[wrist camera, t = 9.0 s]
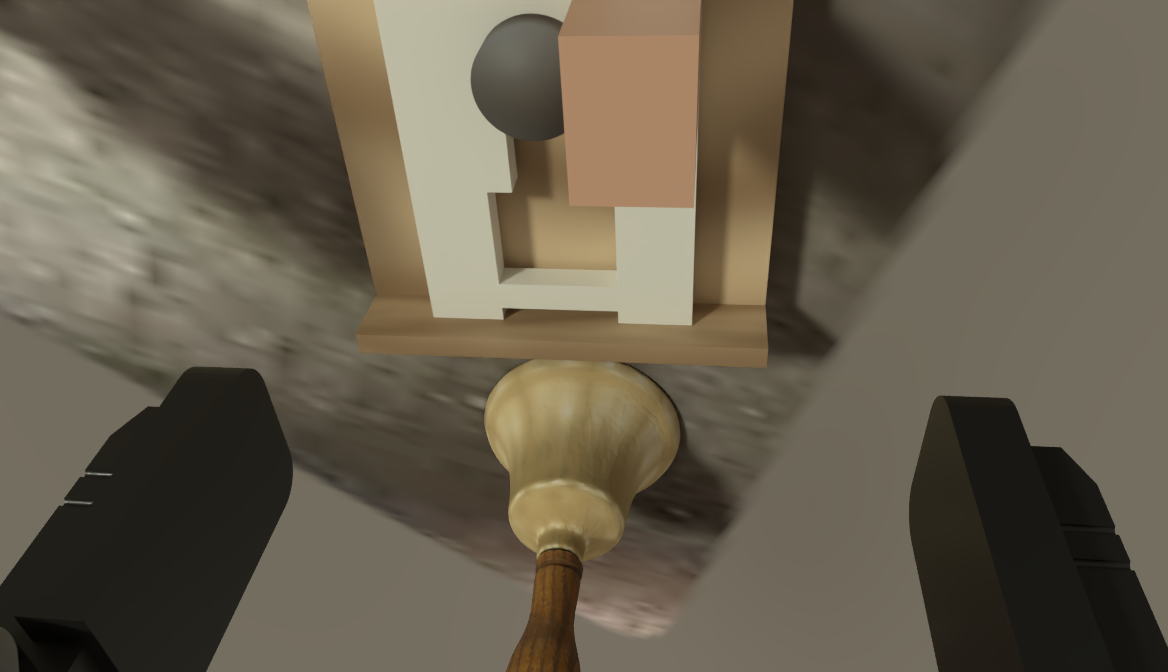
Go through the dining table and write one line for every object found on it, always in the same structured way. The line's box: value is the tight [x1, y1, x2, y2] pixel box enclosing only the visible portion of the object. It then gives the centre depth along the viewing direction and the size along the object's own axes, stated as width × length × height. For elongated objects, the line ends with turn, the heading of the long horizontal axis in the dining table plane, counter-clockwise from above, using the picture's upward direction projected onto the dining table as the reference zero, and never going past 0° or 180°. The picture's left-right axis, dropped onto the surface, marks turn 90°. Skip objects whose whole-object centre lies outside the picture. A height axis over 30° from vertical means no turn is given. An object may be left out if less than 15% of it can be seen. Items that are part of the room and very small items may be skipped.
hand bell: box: [484, 359, 680, 672], centre depth 32 cm, size 8×8×16 cm
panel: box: [373, 0, 702, 326], centre depth 22 cm, size 21×9×9 cm, turn 3°
